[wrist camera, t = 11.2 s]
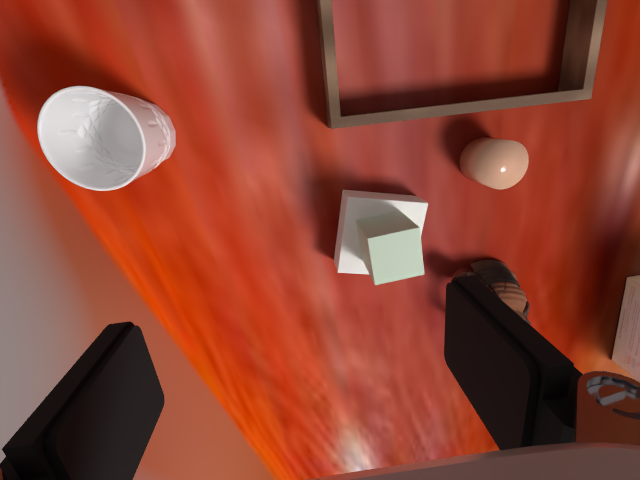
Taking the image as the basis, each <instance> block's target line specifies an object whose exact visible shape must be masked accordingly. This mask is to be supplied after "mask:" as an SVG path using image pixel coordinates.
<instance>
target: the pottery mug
mask: <svg viewBox="0 0 640 480" xmlns="http://www.w3.org/2000/svg"><path fill="white" fill-rule="evenodd" d="M470 265H471V267H472V268H473V271H474V272H469V271H468V272H460V273H459V274H457V275H456V276H455V277H460V276H467V275H473V276H475V277H476V278H477V279H478V280H480V281H481V282H482V283H483V284H484V285H485V286H486V287H488V286H489V287H490V288H491V289H492V291H493V292H494V294H495V295H497V296H498V297H499V298H500V299H501V300H502V301H503V302H504V303H506V304H507V305H508V306H509V307H510V308H511V309H512V310H514V311H515V312H516V313H517V314H518V315H519V316H520V317H521V318H523V319H524V320H525V321H526V322H527V323H528V324H529V325H530V322H529V321H528V319H527V315H528V312H529V306H530V304H529V302H528V301H527V302H526V300H527V297H526V296H525V292H524V291H523V290H522V289H520V288H519V287H520V285H519V283H518V281H516V279H517V278H516V276H515V274H514V273H513V272H512V271H511V270H510V269H509V268H508V266H507V265H506V264H505V263H503V262H500V261H496V260H481V261H477V262H474V263H471V264H470ZM525 305H526V306H525ZM524 308H525V309H524Z"/></svg>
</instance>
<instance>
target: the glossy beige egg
mask: <svg viewBox="0 0 640 480" xmlns="http://www.w3.org/2000/svg"><path fill="white" fill-rule="evenodd" d="M528 161H529V159H528V153H527V151H526V149H525V147H524V146H523V145H522V144H520V143H519V142H516V141H511V140H503V139H496V138H488V137H480V138H476V139H474V140H472V141H471V142H469V143H468V144H467V145H466V146H465V148H464V149H463V151H462V153H461V155H460V159H459V166H460V170H461V172H462V174H463V175H464V176H465V177H466V178H468V179H470V180H473V181H476V182H478V183H481V184H484V185H486V186H489V187H492V188H494V189H506V188H509V187H512V186H513V185H515V184H516V183H518V182H519V181H520V180H521V178H522V177H523V176H524V174H525V172H526V170H527V167H528Z"/></svg>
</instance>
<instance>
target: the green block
mask: <svg viewBox="0 0 640 480" xmlns="http://www.w3.org/2000/svg"><path fill="white" fill-rule="evenodd" d="M356 224H357V230H358V236H359V242H360V248H361V254H362V259H363V262H364V264H365V266H366V268H367V270H368V272H369V274H370V276H371V278H372V280H373V282H374V284H375V285H378V284H383V283H387V282H392V281H396V280H401V279H405V278H410V277H415V276H419V275H424V266H423V255H422V245H421V235H420V227H419V226H418V225H416V224H415V223H414V222H413V221H412V220H411V219H409V218H408V217H407V216H406V215H405V214H403V213H402V212H401V211H397V212H392V213H387V214H383V215H378V216H373V217H369V218H364V219H360V220H356Z"/></svg>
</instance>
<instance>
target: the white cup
mask: <svg viewBox="0 0 640 480" xmlns="http://www.w3.org/2000/svg"><path fill="white" fill-rule="evenodd" d="M37 131H38V138H39V142H40V145H41V148H42V150H43V152H44V154H45V156H46V158H47V159H48V161H49V162H50V163H51V165H52V166H53V167H54V168H55V169H56V170H57V171H58V172H59V173H60V174H61V175H62V176H64V177H65V178H66V179H68V180H69V181H71V182H73V183H75V184H77V185H79V186H81V187H84V188H87V189H91V190H98V191H108V190H114V189H118V188H121V187H123V186H125V185H127V184H129V183H130V182H132V181H134V180H136V179H137V178H139V177H141V176H143V175H145V174H146V173H148V172H150V171H151V170H153V169H154V168H156V167H157V166H158V165H159V164H160V163H162V162H163V161H165V160H166V159H168V158H169V157H170V155H171V153H172V151H173V149H174V148H175V146H176V131H175V128H174V126H173V124H172V122H171V120H170V118H169V116H168V115H167V114H166V113H165V112H164V111H163V110H162V109H161V108H160V107H158V106H157V105H156V104H153V103H150V102H148V101H145V100H142V99H139V98H136V97H133V96H129V95H125V94H122V93H117V92H112V91H107V90H103V89H98V88H93V87H88V86H72V87H68V88H64V89H62V90H59V91H58V92H56V93H54V94H53V95H52V96H50V97H49V98H48V99H47V101H46V102H45V103H44V105H43V106H42V108H41V111H40V113H39V117H38V123H37Z"/></svg>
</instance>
